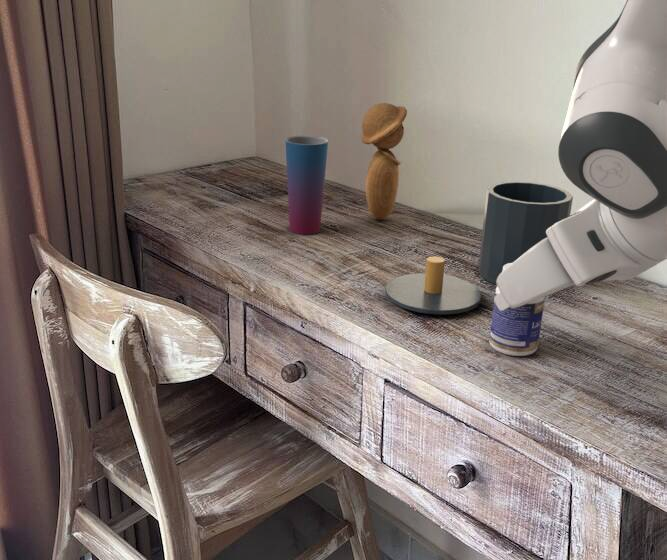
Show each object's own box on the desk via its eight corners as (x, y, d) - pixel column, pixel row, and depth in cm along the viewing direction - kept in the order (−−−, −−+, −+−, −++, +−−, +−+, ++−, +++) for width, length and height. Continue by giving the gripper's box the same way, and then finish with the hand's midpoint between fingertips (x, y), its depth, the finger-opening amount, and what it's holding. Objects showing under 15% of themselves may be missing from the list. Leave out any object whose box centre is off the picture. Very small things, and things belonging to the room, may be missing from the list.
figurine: (406, 226, 138) (414, 108, 130) (365, 228, 136) (371, 108, 129) (390, 210, 146) (397, 98, 139) (351, 212, 144) (357, 98, 137)
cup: (321, 223, 138) (324, 135, 132) (328, 236, 132) (331, 144, 126) (281, 223, 137) (283, 135, 131) (286, 236, 131) (288, 144, 125)
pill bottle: (539, 360, 94) (551, 280, 90) (489, 355, 94) (498, 275, 91) (535, 338, 99) (546, 262, 95) (488, 334, 100) (497, 258, 96)
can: (566, 292, 113) (580, 206, 108) (482, 287, 114) (492, 201, 109) (551, 263, 124) (563, 183, 119) (475, 258, 124) (483, 179, 120)
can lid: (485, 321, 103) (489, 280, 101) (384, 315, 104) (386, 274, 102) (475, 283, 115) (480, 245, 113) (385, 278, 116) (387, 240, 113)
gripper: (653, 193, 89) (563, 252, 100) (545, 225, 76) (455, 289, 87) (684, 242, 88) (590, 297, 98) (579, 284, 75) (483, 341, 85)
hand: (525, 293), depth 92 cm, fingers open, 8 cm apart
